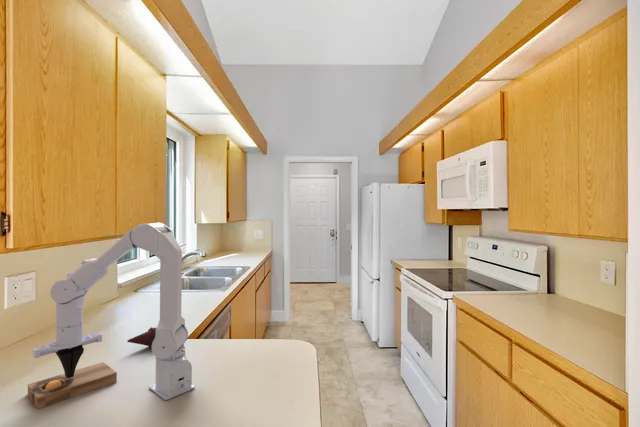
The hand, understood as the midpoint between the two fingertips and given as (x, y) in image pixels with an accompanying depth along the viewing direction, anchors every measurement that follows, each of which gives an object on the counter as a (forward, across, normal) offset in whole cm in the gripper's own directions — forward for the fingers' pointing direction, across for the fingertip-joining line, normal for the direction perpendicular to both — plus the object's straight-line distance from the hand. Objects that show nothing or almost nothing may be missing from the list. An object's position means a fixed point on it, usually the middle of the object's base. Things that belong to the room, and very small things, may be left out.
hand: (69, 376), depth 89 cm
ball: (+2, +3, 0) cm, 4 cm away
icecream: (+4, -26, -11) cm, 29 cm away
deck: (+3, -1, 0) cm, 4 cm away
